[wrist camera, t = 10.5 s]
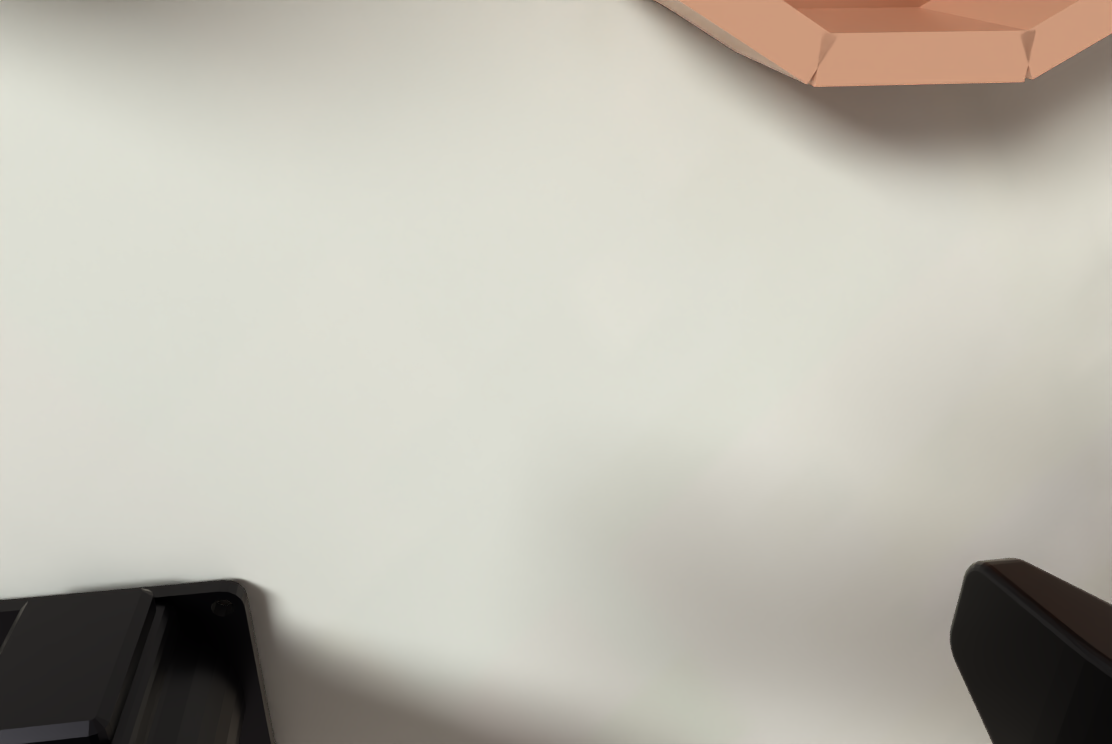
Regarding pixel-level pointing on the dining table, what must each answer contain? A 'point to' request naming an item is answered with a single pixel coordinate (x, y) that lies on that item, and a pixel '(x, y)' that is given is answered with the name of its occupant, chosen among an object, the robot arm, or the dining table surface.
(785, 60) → the faceted terracotta bowl
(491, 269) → the dining table surface
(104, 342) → the dining table surface
